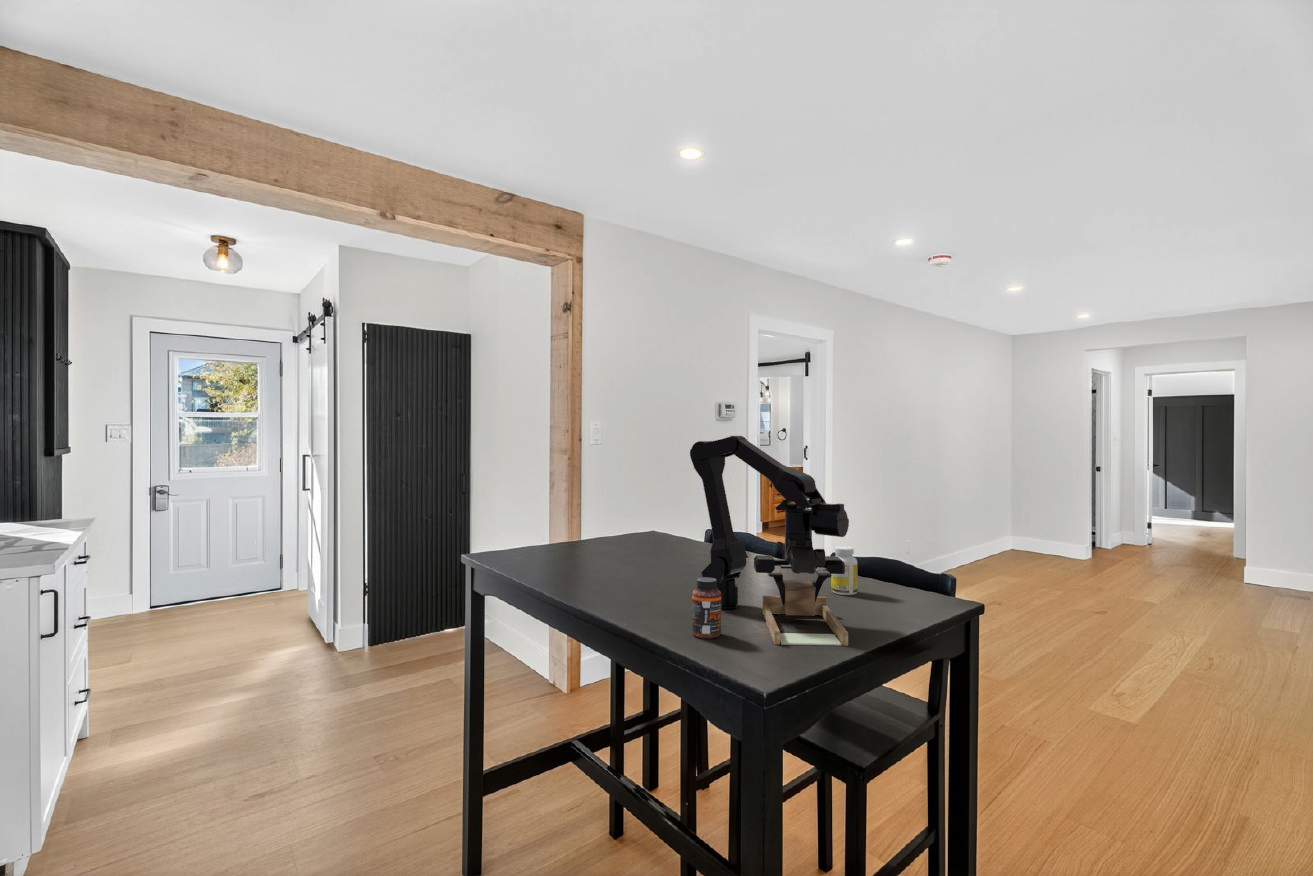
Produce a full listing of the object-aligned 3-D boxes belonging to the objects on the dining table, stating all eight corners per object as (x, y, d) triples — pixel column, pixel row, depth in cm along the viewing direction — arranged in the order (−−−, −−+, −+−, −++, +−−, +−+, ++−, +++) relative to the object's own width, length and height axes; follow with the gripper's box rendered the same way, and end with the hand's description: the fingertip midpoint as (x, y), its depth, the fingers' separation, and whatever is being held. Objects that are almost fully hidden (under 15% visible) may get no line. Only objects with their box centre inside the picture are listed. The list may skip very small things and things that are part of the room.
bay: (774, 644, 120) (774, 623, 120) (762, 613, 141) (762, 595, 141) (848, 645, 119) (848, 624, 119) (825, 614, 140) (825, 596, 140)
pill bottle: (854, 590, 162) (854, 545, 162) (860, 596, 156) (860, 550, 156) (829, 589, 163) (829, 545, 163) (833, 595, 156) (833, 549, 156)
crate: (785, 615, 131) (786, 587, 131) (781, 607, 138) (781, 580, 137) (815, 615, 131) (815, 587, 131) (810, 607, 137) (810, 580, 137)
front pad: (781, 644, 120) (781, 642, 120) (777, 634, 126) (777, 633, 126) (841, 645, 119) (841, 644, 119) (834, 635, 125) (834, 634, 125)
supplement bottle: (713, 641, 121) (713, 584, 121) (686, 636, 125) (686, 580, 125) (726, 633, 126) (726, 578, 126) (700, 628, 130) (700, 574, 130)
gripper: (758, 537, 127) (758, 614, 127) (851, 538, 126) (851, 615, 126) (753, 529, 138) (753, 599, 138) (838, 530, 137) (838, 601, 137)
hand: (798, 604), depth 134 cm, fingers closed on crate, 6 cm apart
